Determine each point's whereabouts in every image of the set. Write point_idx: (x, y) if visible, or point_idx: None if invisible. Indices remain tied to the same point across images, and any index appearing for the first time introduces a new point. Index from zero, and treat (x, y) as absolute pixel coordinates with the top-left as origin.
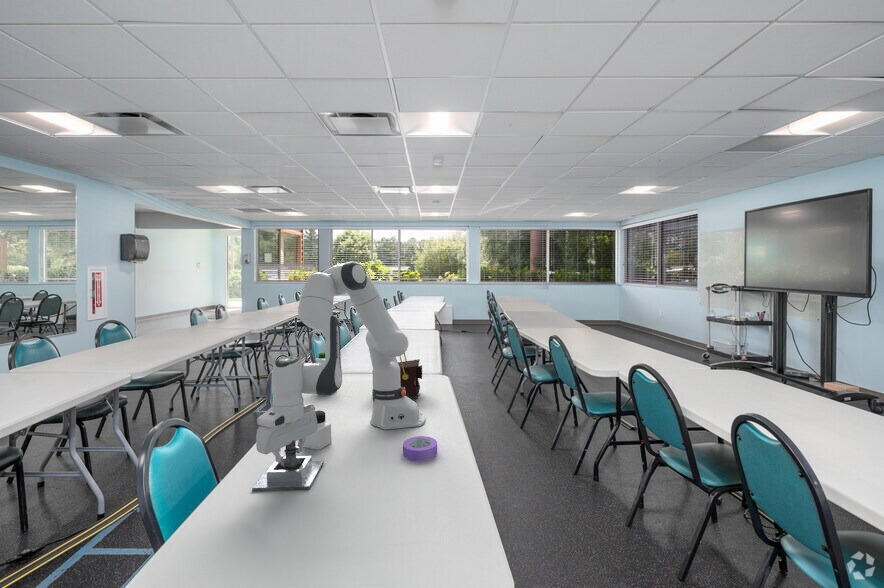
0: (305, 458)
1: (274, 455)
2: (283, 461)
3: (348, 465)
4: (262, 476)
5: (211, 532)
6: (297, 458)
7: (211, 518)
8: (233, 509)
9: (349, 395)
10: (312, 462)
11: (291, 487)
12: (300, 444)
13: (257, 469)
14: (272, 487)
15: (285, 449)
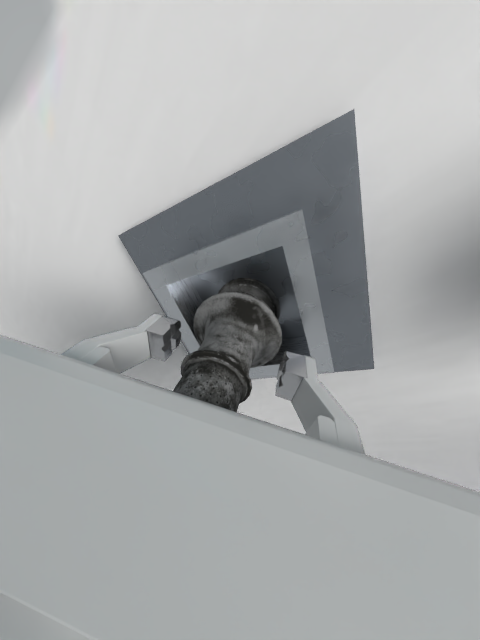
0: (311, 354)
1: (124, 329)
2: (226, 302)
3: (357, 420)
4: (188, 203)
5: (7, 275)
6: (274, 345)
7: (8, 228)
8: (58, 254)
9: None
10: (355, 337)
11: (185, 346)
12: (301, 405)
13: (275, 39)
14: (157, 300)
15: (198, 359)
